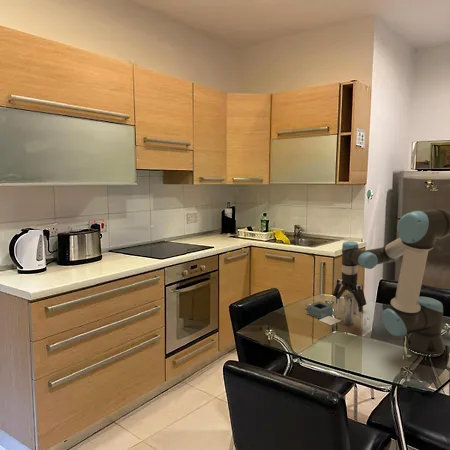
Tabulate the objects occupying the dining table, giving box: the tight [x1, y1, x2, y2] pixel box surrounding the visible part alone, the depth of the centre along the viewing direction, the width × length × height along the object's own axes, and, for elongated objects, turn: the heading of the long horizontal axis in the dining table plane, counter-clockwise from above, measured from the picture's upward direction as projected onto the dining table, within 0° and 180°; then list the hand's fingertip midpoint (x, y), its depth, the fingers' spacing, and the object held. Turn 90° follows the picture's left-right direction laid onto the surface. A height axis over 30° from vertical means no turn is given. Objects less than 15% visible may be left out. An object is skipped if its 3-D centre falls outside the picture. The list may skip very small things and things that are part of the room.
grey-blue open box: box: [304, 301, 334, 320], centre depth 222 cm, size 14×10×4 cm, turn 37°
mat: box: [318, 315, 342, 326], centre depth 211 cm, size 8×8×1 cm
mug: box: [346, 289, 364, 315], centre depth 223 cm, size 12×8×11 cm
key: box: [343, 293, 354, 326], centre depth 206 cm, size 4×6×15 cm, turn 127°
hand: (348, 313), depth 207 cm, fingers open, 11 cm apart
